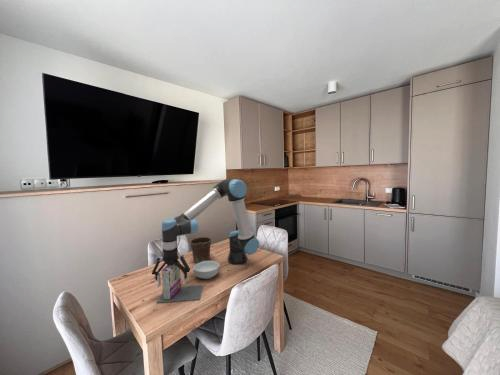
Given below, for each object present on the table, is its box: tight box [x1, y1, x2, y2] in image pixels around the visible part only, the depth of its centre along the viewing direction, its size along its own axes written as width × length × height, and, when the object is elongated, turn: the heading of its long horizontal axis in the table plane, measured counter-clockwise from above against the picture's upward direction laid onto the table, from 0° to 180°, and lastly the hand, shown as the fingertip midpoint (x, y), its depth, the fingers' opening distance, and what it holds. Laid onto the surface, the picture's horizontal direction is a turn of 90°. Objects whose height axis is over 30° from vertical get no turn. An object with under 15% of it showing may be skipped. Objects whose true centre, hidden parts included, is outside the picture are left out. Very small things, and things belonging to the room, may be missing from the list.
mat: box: [156, 284, 204, 304], centre depth 115 cm, size 22×14×1 cm, turn 96°
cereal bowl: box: [193, 260, 220, 280], centre depth 135 cm, size 17×17×7 cm
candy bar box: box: [160, 264, 182, 300], centre depth 114 cm, size 11×5×16 cm, turn 171°
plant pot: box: [189, 236, 212, 264], centre depth 159 cm, size 16×16×16 cm
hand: (171, 284), depth 114 cm, fingers open, 13 cm apart
